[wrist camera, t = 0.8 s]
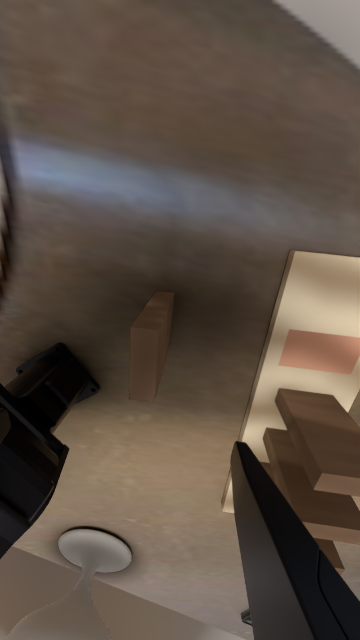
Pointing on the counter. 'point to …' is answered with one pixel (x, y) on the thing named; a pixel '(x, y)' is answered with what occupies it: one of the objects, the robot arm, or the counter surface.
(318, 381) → the domino board
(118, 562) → the chalice
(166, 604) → the counter surface
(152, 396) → the domino
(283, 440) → the domino
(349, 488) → the domino
